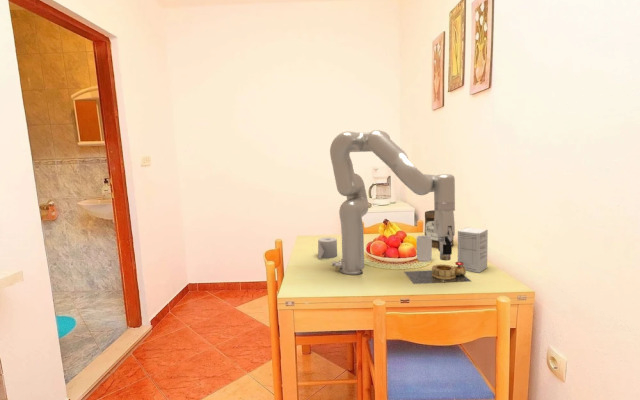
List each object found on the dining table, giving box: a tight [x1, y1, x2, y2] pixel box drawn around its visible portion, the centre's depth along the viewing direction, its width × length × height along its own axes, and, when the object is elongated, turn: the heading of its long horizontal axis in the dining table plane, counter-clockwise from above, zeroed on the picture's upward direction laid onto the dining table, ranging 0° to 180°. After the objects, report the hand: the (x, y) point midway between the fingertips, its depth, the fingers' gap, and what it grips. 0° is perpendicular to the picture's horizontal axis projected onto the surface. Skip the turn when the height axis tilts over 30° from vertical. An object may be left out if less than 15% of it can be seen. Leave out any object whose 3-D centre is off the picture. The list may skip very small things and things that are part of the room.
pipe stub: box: [439, 235, 452, 261], centre depth 137 cm, size 5×5×9 cm
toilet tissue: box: [317, 236, 338, 260], centre depth 175 cm, size 9×13×9 cm
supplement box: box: [457, 227, 489, 274], centre depth 150 cm, size 10×9×17 cm
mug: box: [416, 235, 433, 262], centre depth 162 cm, size 10×7×12 cm, turn 161°
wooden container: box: [424, 210, 455, 249], centre depth 189 cm, size 15×15×22 cm
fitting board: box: [404, 261, 472, 285], centre depth 138 cm, size 22×14×7 cm, turn 91°
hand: (445, 252), depth 137 cm, fingers closed on pipe stub, 4 cm apart
